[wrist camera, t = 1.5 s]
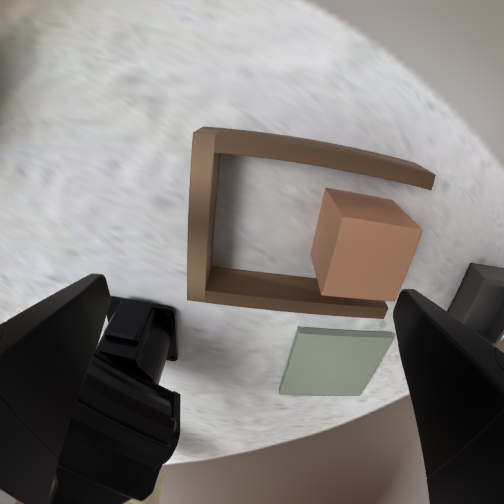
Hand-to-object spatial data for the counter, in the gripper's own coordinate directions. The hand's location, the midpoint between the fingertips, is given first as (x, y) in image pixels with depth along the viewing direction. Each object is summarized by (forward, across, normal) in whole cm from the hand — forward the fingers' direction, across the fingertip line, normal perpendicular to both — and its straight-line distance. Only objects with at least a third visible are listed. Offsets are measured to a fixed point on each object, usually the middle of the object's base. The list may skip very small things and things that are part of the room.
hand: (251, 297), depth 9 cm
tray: (+12, -23, +10) cm, 28 cm away
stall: (+12, -3, +3) cm, 13 cm away
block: (+12, -7, +3) cm, 14 cm away
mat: (+12, -8, +17) cm, 23 cm away
